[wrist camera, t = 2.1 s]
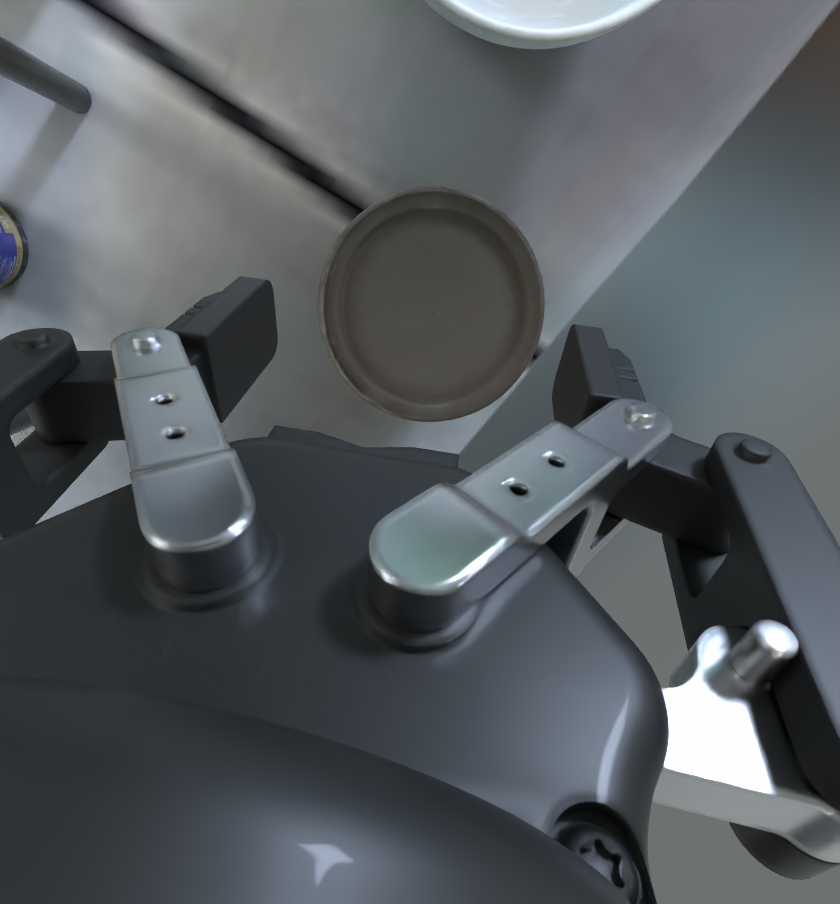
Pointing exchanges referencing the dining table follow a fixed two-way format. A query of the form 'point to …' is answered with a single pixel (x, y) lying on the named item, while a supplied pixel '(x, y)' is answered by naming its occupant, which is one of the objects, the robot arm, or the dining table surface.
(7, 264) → the pill bottle
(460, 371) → the coffee can
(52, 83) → the shelf riser
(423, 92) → the dining table surface
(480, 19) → the serving bowl
